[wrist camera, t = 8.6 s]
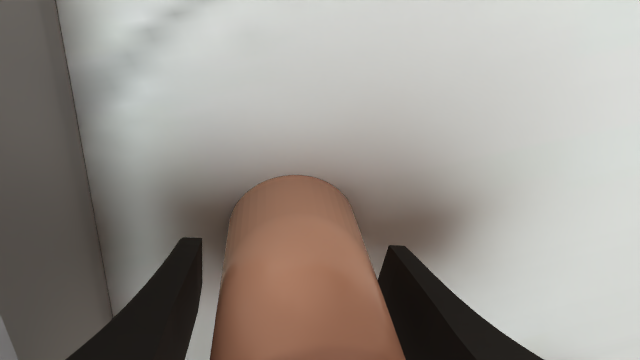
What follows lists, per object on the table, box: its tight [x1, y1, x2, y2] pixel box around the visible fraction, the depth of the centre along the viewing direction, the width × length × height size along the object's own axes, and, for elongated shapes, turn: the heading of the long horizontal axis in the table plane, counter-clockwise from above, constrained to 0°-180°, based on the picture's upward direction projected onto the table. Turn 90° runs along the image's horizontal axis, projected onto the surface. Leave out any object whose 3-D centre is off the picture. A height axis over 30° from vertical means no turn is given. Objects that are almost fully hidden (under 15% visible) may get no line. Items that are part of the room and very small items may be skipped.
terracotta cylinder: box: [210, 175, 406, 360], centre depth 11 cm, size 5×5×7 cm
